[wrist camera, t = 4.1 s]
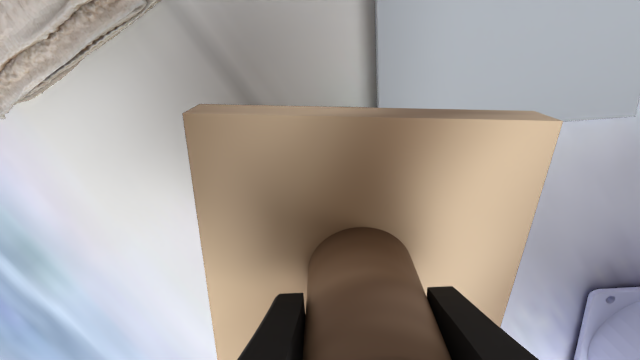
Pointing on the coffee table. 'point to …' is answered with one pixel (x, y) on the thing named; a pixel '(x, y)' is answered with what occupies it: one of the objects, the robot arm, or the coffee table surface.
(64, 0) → the washcloth
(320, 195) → the lid
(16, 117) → the coffee table surface
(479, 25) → the mat
